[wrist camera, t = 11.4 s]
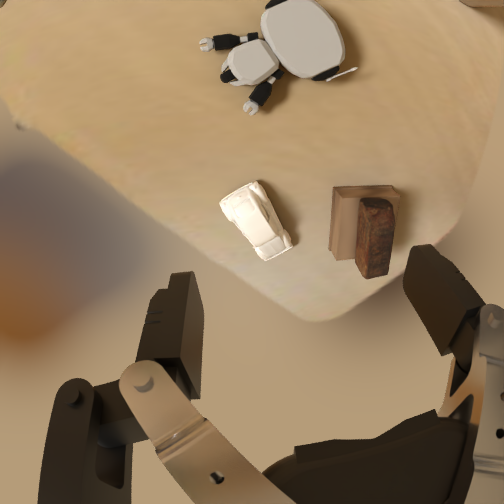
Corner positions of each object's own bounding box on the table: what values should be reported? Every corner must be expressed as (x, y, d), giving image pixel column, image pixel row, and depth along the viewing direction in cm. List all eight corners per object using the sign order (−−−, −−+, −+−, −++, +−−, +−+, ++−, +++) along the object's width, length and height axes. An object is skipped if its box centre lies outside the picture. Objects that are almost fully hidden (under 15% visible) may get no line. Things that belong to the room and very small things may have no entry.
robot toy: (249, 117, 35) (351, 66, 30) (249, 124, 31) (363, 67, 27) (196, 42, 29) (302, -12, 24) (189, 39, 25) (309, -21, 20)
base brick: (390, 185, 40) (401, 194, 37) (381, 243, 46) (389, 255, 43) (333, 186, 40) (341, 197, 37) (328, 248, 46) (334, 261, 43)
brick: (376, 257, 43) (389, 276, 39) (353, 261, 43) (364, 281, 39) (382, 194, 37) (398, 209, 33) (356, 197, 37) (370, 212, 33)
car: (216, 198, 40) (215, 213, 36) (255, 175, 39) (259, 187, 35) (260, 258, 46) (263, 277, 42) (295, 239, 45) (302, 257, 41)
